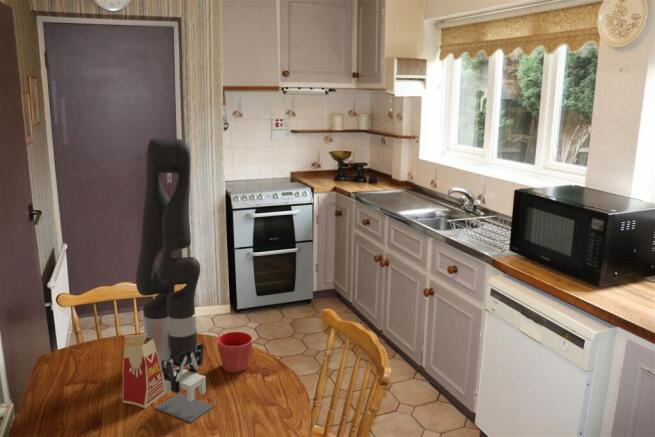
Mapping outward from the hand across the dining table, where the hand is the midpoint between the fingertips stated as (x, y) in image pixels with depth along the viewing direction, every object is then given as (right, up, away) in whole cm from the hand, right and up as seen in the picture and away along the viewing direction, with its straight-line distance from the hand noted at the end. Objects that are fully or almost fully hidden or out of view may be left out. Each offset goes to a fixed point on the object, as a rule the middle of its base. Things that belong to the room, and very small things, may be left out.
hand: (184, 386), depth 157 cm
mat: (0, -6, +2) cm, 6 cm away
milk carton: (-14, -5, +7) cm, 16 cm away
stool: (-4, +1, +2) cm, 5 cm away
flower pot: (+10, -1, +25) cm, 27 cm away
